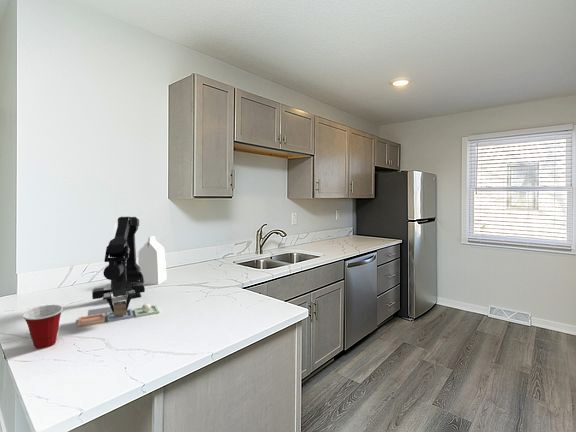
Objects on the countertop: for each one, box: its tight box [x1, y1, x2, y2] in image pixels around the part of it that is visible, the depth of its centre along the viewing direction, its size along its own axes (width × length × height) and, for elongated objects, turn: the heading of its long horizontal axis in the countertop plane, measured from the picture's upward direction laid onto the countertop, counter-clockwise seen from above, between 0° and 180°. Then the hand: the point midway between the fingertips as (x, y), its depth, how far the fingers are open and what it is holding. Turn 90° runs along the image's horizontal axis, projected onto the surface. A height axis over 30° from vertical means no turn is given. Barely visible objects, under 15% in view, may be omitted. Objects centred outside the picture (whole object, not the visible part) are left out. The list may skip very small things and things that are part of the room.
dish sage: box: [133, 304, 160, 318], centre depth 137 cm, size 9×9×1 cm
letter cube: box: [113, 300, 127, 317], centre depth 132 cm, size 4×4×5 cm
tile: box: [87, 306, 112, 316], centre depth 137 cm, size 9×9×1 cm
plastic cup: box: [22, 304, 64, 350], centre depth 107 cm, size 11×11×12 cm
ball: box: [141, 303, 152, 312], centre depth 137 cm, size 4×4×4 cm
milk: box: [137, 235, 168, 285], centre depth 185 cm, size 12×12×26 cm
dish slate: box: [106, 308, 134, 323], centre depth 132 cm, size 9×9×1 cm
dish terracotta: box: [76, 313, 106, 328], centre depth 127 cm, size 9×9×1 cm
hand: (119, 310), depth 132 cm, fingers closed on letter cube, 4 cm apart
